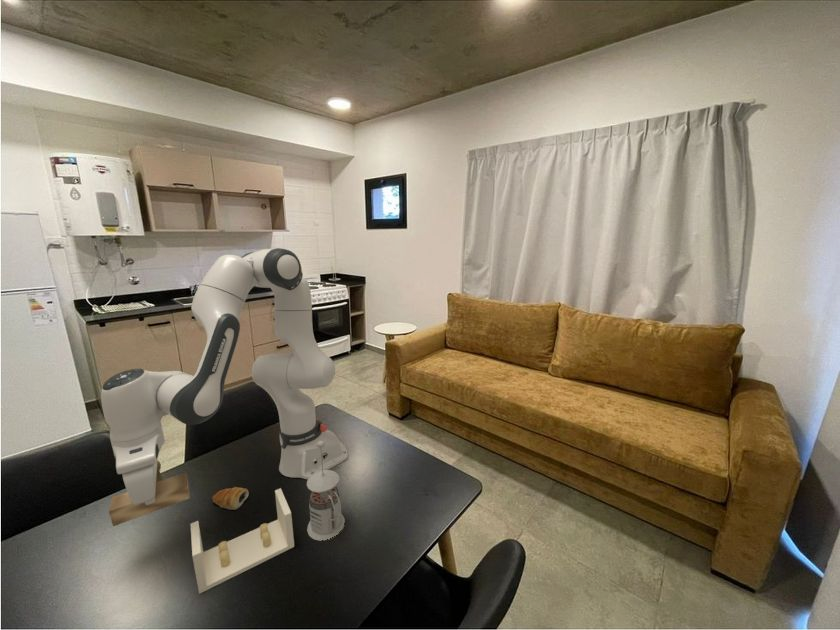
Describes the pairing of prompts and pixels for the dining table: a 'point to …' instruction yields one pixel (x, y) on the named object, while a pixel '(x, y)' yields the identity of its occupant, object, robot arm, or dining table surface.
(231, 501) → the pastry
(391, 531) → the dining table surface
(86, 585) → the dining table surface
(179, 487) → the shelf board
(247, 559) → the peg frame
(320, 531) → the french press
